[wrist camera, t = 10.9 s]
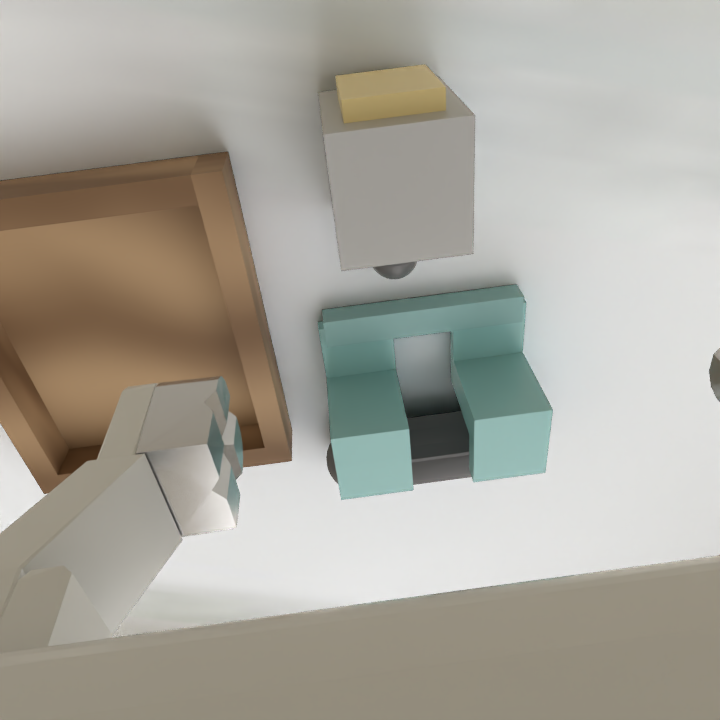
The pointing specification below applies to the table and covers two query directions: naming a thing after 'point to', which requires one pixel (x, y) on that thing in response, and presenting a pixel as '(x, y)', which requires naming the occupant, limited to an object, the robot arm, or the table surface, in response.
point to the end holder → (128, 306)
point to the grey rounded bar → (433, 448)
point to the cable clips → (468, 375)
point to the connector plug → (398, 169)
